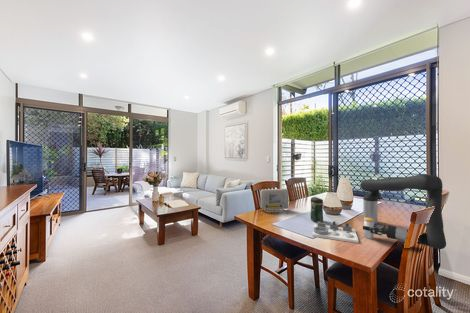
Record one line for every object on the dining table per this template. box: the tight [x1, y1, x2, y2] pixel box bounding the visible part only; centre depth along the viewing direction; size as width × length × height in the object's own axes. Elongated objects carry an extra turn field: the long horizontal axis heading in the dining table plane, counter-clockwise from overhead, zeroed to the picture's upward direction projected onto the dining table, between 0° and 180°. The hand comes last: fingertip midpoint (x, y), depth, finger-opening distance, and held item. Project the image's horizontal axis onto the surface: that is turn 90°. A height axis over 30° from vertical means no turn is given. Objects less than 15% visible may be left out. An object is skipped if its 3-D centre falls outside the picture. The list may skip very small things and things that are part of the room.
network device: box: [260, 188, 289, 213], centre depth 192 cm, size 26×9×20 cm, turn 94°
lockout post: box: [363, 217, 375, 240], centre depth 130 cm, size 5×5×12 cm
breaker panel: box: [311, 218, 359, 244], centre depth 136 cm, size 20×26×6 cm
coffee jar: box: [310, 196, 324, 223], centre depth 162 cm, size 10×8×19 cm
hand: (364, 226), depth 131 cm, fingers open, 5 cm apart
